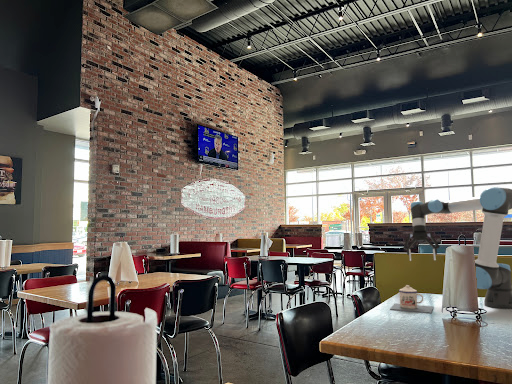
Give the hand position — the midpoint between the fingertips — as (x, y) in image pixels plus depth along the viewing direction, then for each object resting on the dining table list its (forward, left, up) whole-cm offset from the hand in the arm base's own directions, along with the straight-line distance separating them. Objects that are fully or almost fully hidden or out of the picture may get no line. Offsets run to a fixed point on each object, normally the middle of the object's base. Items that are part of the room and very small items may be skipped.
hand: (422, 260), depth 231 cm
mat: (+4, +29, -24) cm, 37 cm away
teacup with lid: (+4, +29, -23) cm, 37 cm away
